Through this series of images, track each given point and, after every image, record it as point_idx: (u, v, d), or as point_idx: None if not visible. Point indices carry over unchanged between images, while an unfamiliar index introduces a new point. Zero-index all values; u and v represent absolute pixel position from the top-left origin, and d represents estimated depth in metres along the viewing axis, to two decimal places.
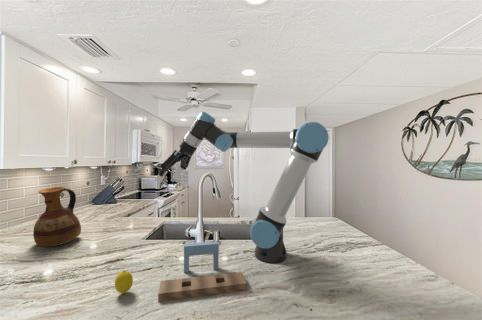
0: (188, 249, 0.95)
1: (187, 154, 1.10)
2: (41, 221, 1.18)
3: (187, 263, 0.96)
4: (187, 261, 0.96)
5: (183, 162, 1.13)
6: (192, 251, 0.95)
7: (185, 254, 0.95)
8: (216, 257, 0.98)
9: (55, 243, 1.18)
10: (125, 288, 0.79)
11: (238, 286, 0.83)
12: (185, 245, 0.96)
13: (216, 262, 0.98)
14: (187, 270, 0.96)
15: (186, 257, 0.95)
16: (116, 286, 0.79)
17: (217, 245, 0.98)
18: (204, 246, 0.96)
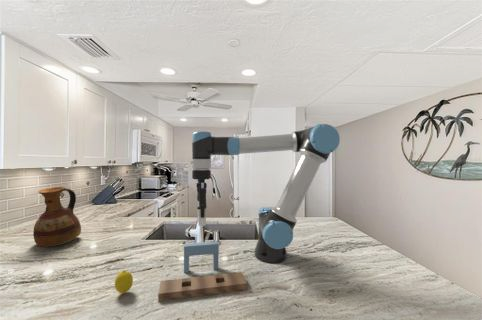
0: (188, 249, 0.95)
1: None
2: (41, 221, 1.18)
3: (187, 263, 0.96)
4: (187, 261, 0.96)
5: None
6: (192, 251, 0.95)
7: (185, 254, 0.95)
8: (216, 257, 0.98)
9: (55, 243, 1.18)
10: (125, 288, 0.79)
11: (238, 286, 0.83)
12: (185, 245, 0.96)
13: (216, 262, 0.98)
14: (187, 270, 0.96)
15: (186, 257, 0.95)
16: (116, 286, 0.79)
17: (217, 245, 0.98)
18: (204, 246, 0.96)
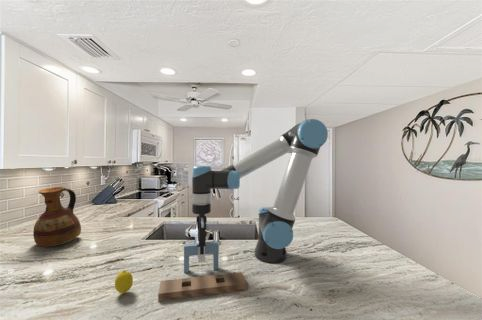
0: (188, 249, 0.95)
1: None
2: (41, 221, 1.18)
3: (187, 263, 0.96)
4: (187, 261, 0.96)
5: None
6: (192, 251, 0.95)
7: (185, 254, 0.95)
8: (216, 257, 0.98)
9: (55, 243, 1.18)
10: (125, 288, 0.79)
11: (238, 286, 0.83)
12: (185, 245, 0.96)
13: (216, 262, 0.98)
14: (187, 270, 0.96)
15: (186, 257, 0.95)
16: (116, 286, 0.79)
17: (217, 245, 0.98)
18: None
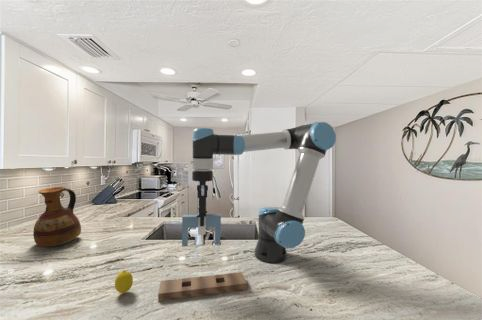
0: (187, 220, 0.86)
1: None
2: (41, 221, 1.18)
3: (186, 236, 0.86)
4: (186, 233, 0.86)
5: None
6: (191, 222, 0.86)
7: (183, 225, 0.86)
8: (218, 231, 0.88)
9: (55, 243, 1.18)
10: (125, 288, 0.79)
11: (238, 286, 0.83)
12: (184, 216, 0.87)
13: (218, 236, 0.89)
14: (185, 243, 0.86)
15: (185, 229, 0.86)
16: (116, 286, 0.79)
17: (219, 217, 0.88)
18: None
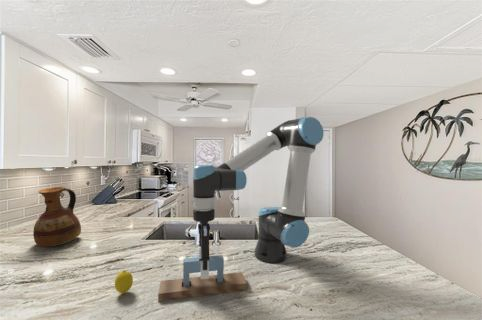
0: (188, 265, 0.81)
1: None
2: (41, 221, 1.18)
3: (187, 281, 0.82)
4: (187, 279, 0.82)
5: None
6: (192, 267, 0.82)
7: (185, 271, 0.81)
8: (221, 274, 0.85)
9: (55, 243, 1.18)
10: (125, 288, 0.79)
11: (238, 286, 0.83)
12: (185, 260, 0.82)
13: (221, 280, 0.85)
14: None
15: (186, 274, 0.82)
16: (116, 286, 0.79)
17: (222, 260, 0.84)
18: None
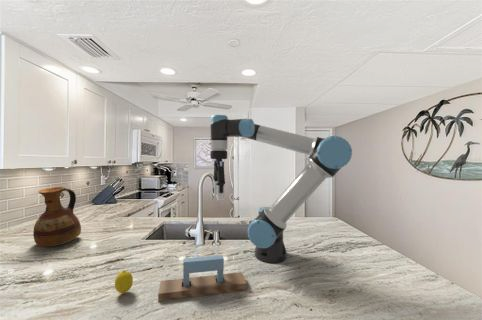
0: (188, 265, 0.81)
1: None
2: (41, 221, 1.18)
3: (187, 281, 0.82)
4: (187, 279, 0.82)
5: None
6: (192, 267, 0.82)
7: (185, 271, 0.81)
8: (221, 274, 0.85)
9: (55, 243, 1.18)
10: (125, 288, 0.79)
11: (238, 286, 0.83)
12: (185, 260, 0.82)
13: (221, 280, 0.85)
14: None
15: (186, 274, 0.82)
16: (116, 286, 0.79)
17: (222, 260, 0.84)
18: (207, 261, 0.83)
